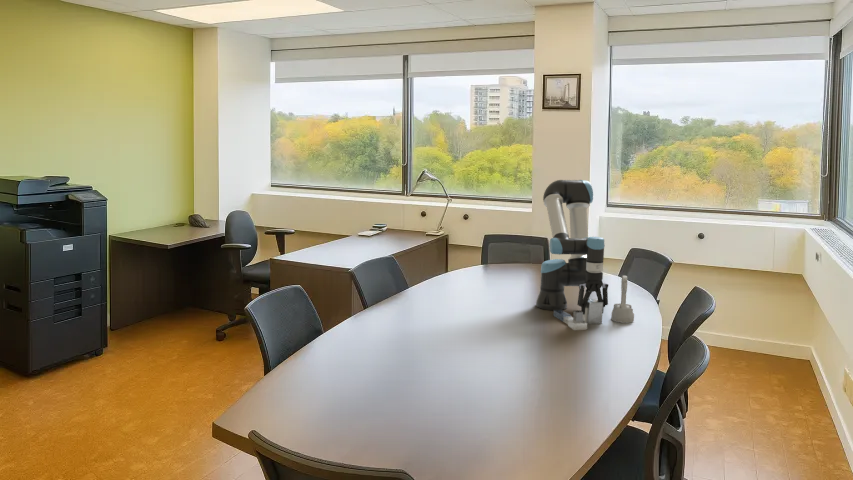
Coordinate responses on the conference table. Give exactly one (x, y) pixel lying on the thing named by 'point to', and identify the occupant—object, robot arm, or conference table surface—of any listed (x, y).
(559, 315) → the blue-grey beige mallet
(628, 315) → the engine component
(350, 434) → the conference table surface
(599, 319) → the grey textured cube
